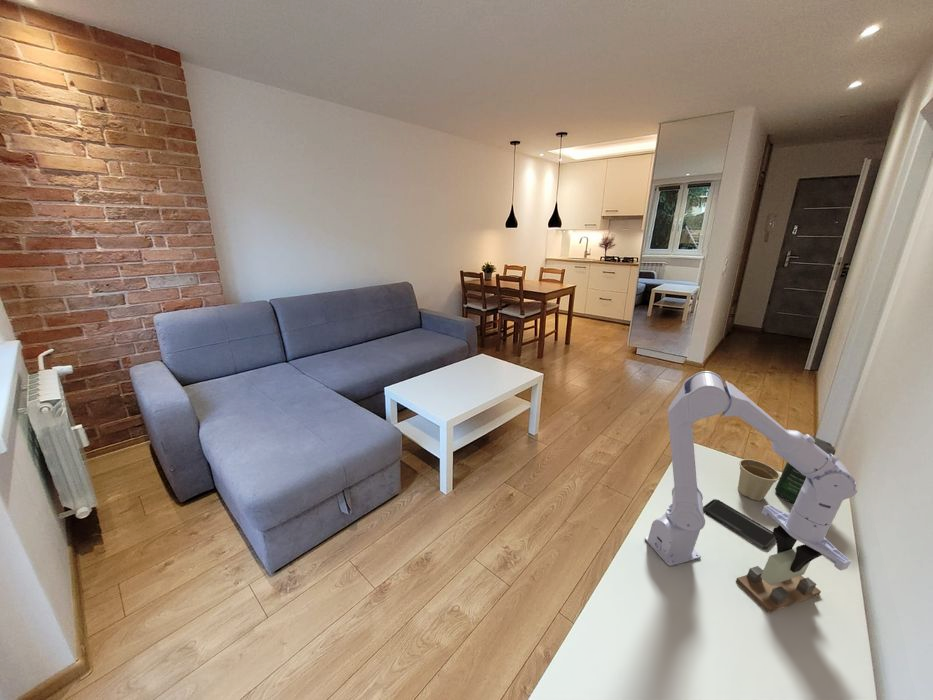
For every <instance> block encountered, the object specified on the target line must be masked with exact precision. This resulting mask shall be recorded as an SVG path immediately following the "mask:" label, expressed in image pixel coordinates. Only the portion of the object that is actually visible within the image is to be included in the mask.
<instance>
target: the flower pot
mask: <svg viewBox="0 0 933 700" xmlns="http://www.w3.org/2000/svg"><path fill="white" fill-rule="evenodd" d="M738 463H739V469H740V470H739V471H740V472H739V478H738V484H737V490H738V492H739V493H740V494H741V495H742V496H744V497H748V498H749V499H750V500H753V501H762V500H764V499H765V497H766V496H767V494H768V492H769V491H770V489H771V488H772V486H773V485H774V484H775V483H776V482H778V481H779V479H780V477H781V474H780V472H778V470H776V469H775V468H774V467H772V466H771V465H769V464H766V463H764V462H762V461H759V460H755V459H751V458H745V459H744V458H743V459H741V460H740V461H739V462H738Z"/></svg>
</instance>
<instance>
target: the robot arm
mask: <svg viewBox="0 0 933 700" xmlns="http://www.w3.org/2000/svg"><path fill="white" fill-rule="evenodd" d="M725 384H726V385H725ZM720 414H722V416H723V417H724V418H730V417H732V418H733V417H739V418H740V419H742V420H743V421H744V422H746V423H747V424H748V425H750V427H752V428H753V429H755V430H756V431H758V432H759V433H760V434H762V435H763V436H764V437H765V438H767V439H768V440H770V441H771V450H772V451H773V452H774V453H776V454H777V456H779V457H781V459H783V460H784V461H785V462H786V463H787V462H788V463H789V464H790V465H792V466H793V467H794V468H795V469H796V470H798V471H799V472H800V473H801V474H803V475H805V476H807V477H806V479H805V481H804V484H803V486H802V487H801V490H800V492H799V494H798V497H797V499H796V501H795V503H793V505H792V507H791V510H790V512H789V514H788V513H786V512H784V511H782V510H781V509H779V508H776V506H773V505H772V504H767V505H763V508H762V510H761V513H760V514H762V515H763V516H766V517H769V518H770V519H772V520H773V521H774V522H776V523H777V524H778V525H777V527H774V528H773V530H772V532H773V533H774V535H775V539H776V541H775V542H776V554H777V553H781V552H784V551H787V550H791V549H794V546H795V545H796V543H797V541H798V542H800V543H801V545H800V544H799V545H797V546H796V547H795V548H796V555H795V559H794V561H793V563H792V565H791V568H790V570H791V571H792V572H798V571H800V570H801V569H802V568H803V567H804V566H805V565H806V564H807V563H809V562H810V563H811V561H813V560H815V559H817V558H819V557H822V556H823V557H824V558H826V559H827V561H830V562H831V563H833V566H834V568H836V569H838V570H839V571H840V572H841V571H844V570H847V569H849V566H850V564H851V563H852V560H851V559H849V557H846V555H844V554H843V553H842V552H841V551H840V550H838V549H837V547H835V545H834V544H832V543H831V542H830V541H829V539H827V538H826V536H827V534H828V531H829V529H830V527H831V526H832V523H833V521H834V519H835V517H836V515H837V513H838V511H839V509H840V507H841V505H842V502H843V501H845V500H847V499H851V498H853V497H854V496H855V495H856V494H857V493H858V491H857V489H856V486H857V483H856V479H854V477H853V475H852V474H851V473H850V471H849V470H848V469H847V467H846V466H845V464H844V463H843V462H842V461H841V460H839V459H840V458H839V457H838V456H835V454H834V455H833V454H827V453H826V452H824V451H823V450H822V449H821V448H819V447H818V446H817V445H816V444H814V443H815V440H814V439H813V438H812V437H813V436H812V435H810V434H808V433H806V434H803V433H802V432H800V431H799V430H795V429H785V427H784V426H782V425H781V424H780V423H779V422H777V421H776V420H775V419H774V418H773V417H771V416H770V415H769V414H768V413H767V412H766V411H764V410H763V409H762V408H761V407H760V406H758V404H756V403H755V402H754V401H753V400H752V399H751V398H749V396H747V395H746V394H745V393H743V392H742V391H741V390H739V388H737V387H736V386H735V385H734V384H732V383H731V382H729V381H727V380H725V382H724V380H723V378H722V377H721V376H720V375H719V374H718V373H716V372H713V371H709V370H705V371H703V370H702V371H699V372H697V373H695V374H693V375H692V376H690V377H688V378H687V379H686V380H684V382H683V384H682V386H681V387H680V389H679V391H678V393H677V394H676V396H675V397H674V398H673V400H672V402H671V403H669V406H668V409H667V421H668V431H669V443H670V453H671V462H672V463H671V465H672V474H673V476H672V477H673V483H674V484H673V485H674V486H673V488H672V490H671V497H672V503H671V504H670V505H668V507H667V508H666V511H665V513H664V514H663V515H662V516H661V517H659V518H657V519H655V520H653V521H652V524H651V526H650V529H649V534H648V535H647V536H644V540H645V541H646V542H647V544H649V546H650V547H651V548H652V549H653V550H654V551H655V552H656V554H658V556H659V557H660V558H661V559H662V560H663V561H664V562H665V564H666V565H667V566H669V567H672V566H676V565H680V564H683V563H686V562H687V563H688V562H690V561H694V560H697V559H701V557H702V555H701V554H700V553H699V552H698V551H697V550H696V549H695V547H696V544H697V541H698V537H699V535H700V532H701V530H702V529H704V527H705V525H706V518H705V515H704V512H703V507H704V505H703V499H704V496H703V493H702V492H701V490H700V489H699V488H698V480H697V470H696V469H697V467H696V458H695V457H696V456H695V442H694V432H693V430H694V429H693V424H694V423H695V422H696V423H697V422H698V421H699V420H702V419H706V418H710V417H714V416H716V415H717V416H718V415H720ZM810 563H809V564H810Z"/></svg>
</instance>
